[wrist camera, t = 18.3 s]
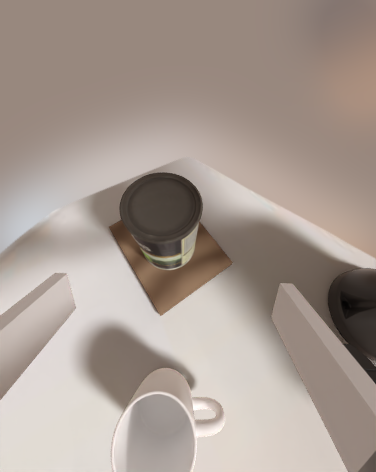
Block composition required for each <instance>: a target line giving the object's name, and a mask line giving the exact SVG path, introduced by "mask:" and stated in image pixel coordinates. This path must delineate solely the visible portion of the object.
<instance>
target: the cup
mask: <svg viewBox="0 0 376 472" xmlns="http://www.w3.org/2000/svg"><path fill="white" fill-rule="evenodd" d="M199 409H210V410H213V411H214V412H215V413H216V417H215V418H213V419H207V420H195V419H194V410H199ZM224 423H225V414H224V410H223V408H222V406H221V405H220V403H219V402H217V401H216V400H214V399H211V398H207V397H192V394H191V390H190V387H189V385H188V383H187V381H186V379H185V378H184V377H183V376H182V375H181V374H180V373H179V372H178V371H176V370H174V369H171V368H160V369H157V370H155V371H153V372H151V373H150V374H149V375H148V376H147V377H146V378H145V379H144V380H143V381H142V383H141V384H140V386H139V387H138V389H137V391H136V392H135V394H134V396H133V397H132V399H131V400H130V402H129V404H128V405H127V407H126V408H125V410H124V412H123V413H122V415H121V417H120V419H119V421H118V423H117V425H116V428H115V431H114V435H113V439H112V446H111V464H112V470H113V472H192V471H193V468H194V464H195V459H196V452H197V437H205V436H211V435H214V434H216V433H218V432H219V431H220V430H221V429H222V428H223V426H224Z"/></svg>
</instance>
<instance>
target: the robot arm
mask: <svg viewBox="0 0 376 472" xmlns="http://www.w3.org/2000/svg"><path fill="white" fill-rule="evenodd" d="M328 301H329V309H330V313H331V316H332V319H333V321H334V323H335V325H336V327H337V329H338V330H339V332H340V333H341V335H342V336H343V337H344V338H345V340H346V341H347V342H348V343H349V344H342V343H341V341H340V340H339V339H338V338H337V337H336V335H335V334H334V333H333V332H332V331H331V329H330V328H329V327H328V326H327V325H326V323H325V322H324V321H323V320H322V318H321V317H320V316H319V315H318V314H317V312H316V311H315V310H314V309H313V308H312V306H311V305H310V304H309V303H308V301H307V300H306V299H305V298H304V297H303V295H302V294H301V293H300V292H299V291H298V289H297V288H296V287H295V286H294V285H293V284H291V283H280V285H279V289H278V293H277V296H276V300H275V304H274V308H273V312H272V316H271V319H272V321H273V323H274V325H275V327H276V329H277V331H278V333H279V335H280V337H281V339H282V341H283V343H284V345H285V347H286V349H287V351H288V353H289V355H290V357H291V359H292V361H293V363H294V365H295V367H296V369H297V371H298V373H299V375H300V377H301V379H302V381H303V383H304V385H305V387H306V389H307V391H308V393H309V395H310V397H311V399H312V401H313V403H314V405H315V407H316V409H317V411H318V413H319V415H320V417H321V419H322V421H323V423H324V425H325V427H326V429H327V431H328V433H329V435H330V437H331V439H332V441H333V443H334V445H335V447H336V449H337V451H338V453H339V455H340V457H341V459H342V461H343V463H344V465H345V467H346V469H347V471H348V472H376V367H375V366H374V365H373V364H372V362H371V361H370V360H369V359H368V358H370V359H372V360H375V361H376V269H369V268H365V269H357V270H353V271H349V272H345V273H343V274H341V275H340V276H338V277H337V278H336V279H335V280H334V282H333V283H332V285H331V287H330V291H329V297H328ZM75 309H76V306H75V302H74V298H73V295H72V291H71V287H70V283H69V279H68V275H67V274H64V273H55V274H53V275H52V276H51V277H49V278H48V279H47V280H46V281H44V282H43V283H42V284H40V285H39V286H38V287H37V288H35V289H34V290H33V291H31V292H30V293H29V294H28V295H26V296H25V297H24V298H23V299H21V300H20V301H19V302H17V303H16V304H15V305H14V306H12V307H11V308H10V309H8V310H7V311H6V312H5V313H3V314H2V315H1V316H0V400H1V399H2V398H3V396H4V395H5V394H6V393H7V391H8V390H9V389H10V388H11V387H12V385H13V384H14V383H15V382H16V381H17V379H18V378H19V377H20V376H21V374H22V373H23V372H24V371H25V370H26V368H27V367H28V366H29V365H30V364H31V362H32V361H33V360H34V359H35V357H36V356H37V355H38V354H39V353H40V351H41V350H42V349H43V348H44V347H45V345H46V344H47V343H48V342H49V340H50V339H51V338H52V337H53V336H54V334H55V333H56V332H57V331H58V330H59V328H60V327H61V326H62V325H63V323H64V322H65V321H66V320H67V319H68V317H69V316H70V315H71V314H72V313H73V311H74V310H75ZM367 357H368V358H367Z"/></svg>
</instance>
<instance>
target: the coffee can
mask: <svg viewBox="0 0 376 472" xmlns="http://www.w3.org/2000/svg"><path fill="white" fill-rule="evenodd" d="M202 208H203V204H202V198H201V195H200V193H199V191H198V190H197V188H196V187H195V186H194V185H193V184H192V183H191V182H190V181H189V180H187V179H186V178H184V177H182V176H179V175H176V174H172V173H153V174H149V175H146V176H144V177H142V178H140V179H138V180H136V181H135V182H134V183H132V184H131V185H130V186H129V187H128V188H127V190H126V191H125V193H124V194H123V196H122V199H121V202H120V216H121V219H122V222H123V224H124V225H125V227H126V228H127V230H128V231H129V232H130V233H131V234H132V236H133V238H134V239H135V241H136V242H137V244H138V245H139V247H140V249H141V250H142V252H143V253H144V255H145V257H146V259H147V260H148V262H149V263H150V264H152V265H153V266H155V267H157V268H159V269H162V270H174V269H177V268H180V267H182V266H184V265H185V264H186V263H187V262H188V261H189V260H190V259H191V257H192V255H193V253H194V250H195V242H196V237H197V231H198V226H199V220H200V218H201V215H202Z"/></svg>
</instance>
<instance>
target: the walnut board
mask: <svg viewBox="0 0 376 472" xmlns="http://www.w3.org/2000/svg"><path fill="white" fill-rule="evenodd" d="M109 228H110V230H111V232H112V233H113V235H114V237H115V239H116V240H117V242H118V244H119V245H120V247H121V249H122V251H123V252H124V254H125V256H126V258H127V259H128V261H129V263H130V264H131V266H132V268H133V270H134V271H135V273H136V275H137V276H138V278H139V280H140V282H141V283H142V285H143V287H144V288H145V290H146V292H147V294H148V295H149V297H150V299H151V300H152V302H153V304H154V306H155V307H156V309H157V311H158V313H159V314H160V316H161V315H163V314H164V313H165V312H167V311H168V310H170V309H171V308H172V307H174V306H175V305H176V304H178V303H179V302H181V301H182V300H183V299H185V298H186V297H187V296H189V295H190V294H192V293H193V292H194V291H196V290H197V289H198V288H200V287H201V286H203V285H204V284H205V283H207V282H208V281H209V280H211V279H212V278H214V277H215V276H216V275H218V274H219V273H220V272H222V271H223V270H225V269H226V268H227V267H229V266H230V265H231V264H232V263H233V262H232V261H231V260H230V259H229V257H228V256H227V255H226V254H225V252H224V251H223V250H222V249H221V247H220V246H219V245H218V244H217V243H216V241H215V240H214V239H213V238H212V236H211V235H210V234H209V233H208V231H207V230H206V229H205V228H204V226H203V225H202V224H201V223H200V221H199V226H198V231H197V237H196V242H195V250H194V253H193V255H192V257H191V259H190V260H189V261H188V262H187V263H186V264H185V265H184V266H182V267H180V268H177V269H174V270H162V269H159V268H157V267H155V266H153V265H152V264H150V263H149V262H148V260H147V259H146V257H145V255H144V253H143V252H142V250H141V249H140V247H139V245H138V244H137V242H136V241H135V239H134V238H133V236H132V234H131V233H130V232H129V231H128V230H127V228H126V227H125V225H124V224H123V222H122V220H121V221H119V222H117V223H115V224H113V225H112V226H110V227H109Z"/></svg>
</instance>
